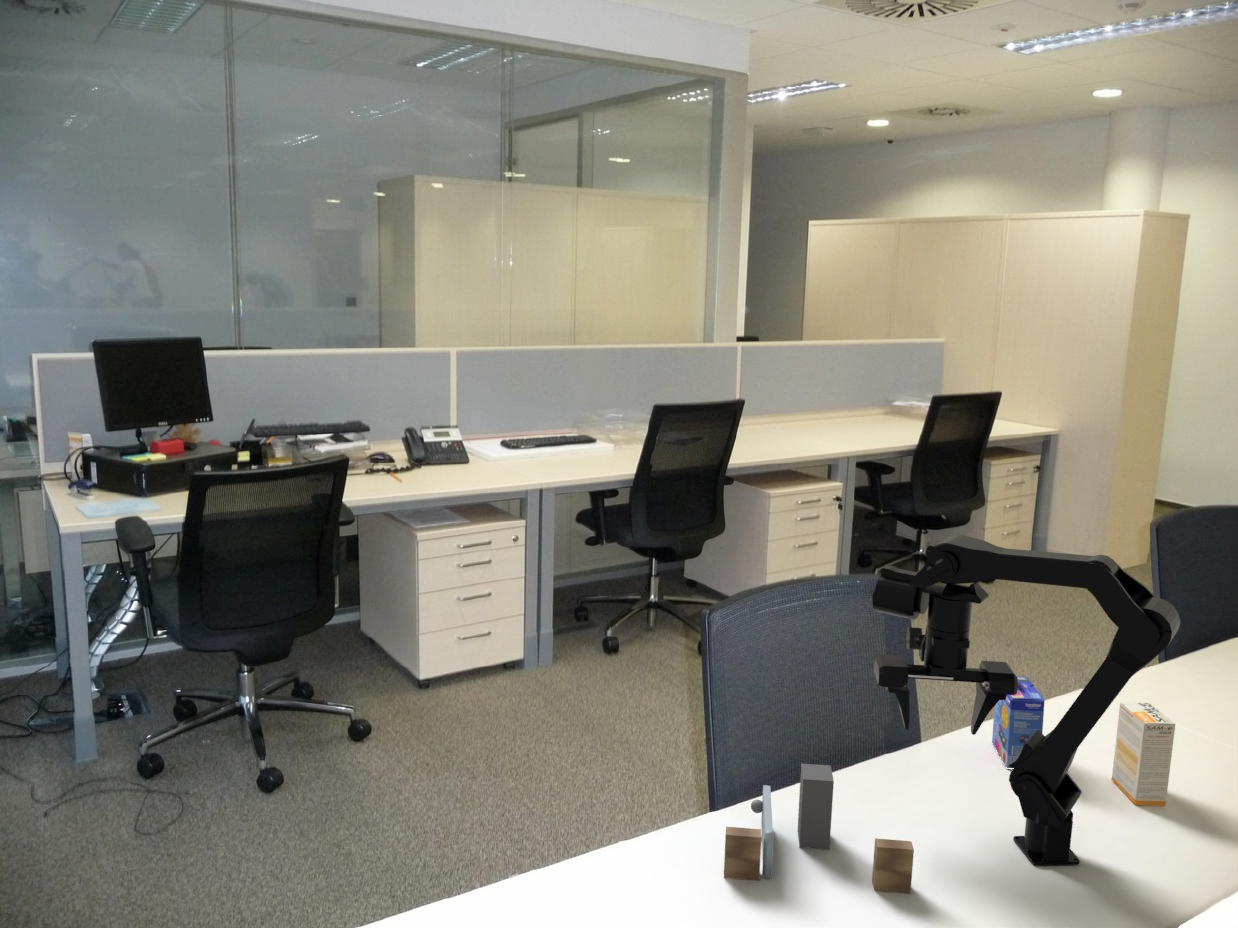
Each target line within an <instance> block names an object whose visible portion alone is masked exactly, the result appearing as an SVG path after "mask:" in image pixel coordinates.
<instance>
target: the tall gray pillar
mask: <svg viewBox="0 0 1238 928" xmlns="http://www.w3.org/2000/svg"><path fill="white" fill-rule="evenodd" d="M833 775H834V774H833V771H832V766H831V765H825V764H813V763H812V764H810V763H800V778H799V783H800V784H799V799H798V801H799V802H798V817H797V838H798V845H799V848H800V849H801V848H802V849H814V850H825V851H826V850H827V851H829V850H830V847H831V830H832V814H833V812H832V811H833V801H834V800H833V797H834V782H835V781H834V780H835V779H834V777H833Z"/></svg>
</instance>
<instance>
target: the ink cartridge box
mask: <svg viewBox="0 0 1238 928" xmlns="http://www.w3.org/2000/svg"><path fill="white" fill-rule="evenodd" d="M1016 676H1017V675H1016ZM1017 679H1018V688H1017V694H1015V695H1007V698H1006V700H999V701H998V703H997V704H996V705H995V706H994V707H993V709H994V710H993V720H992V721H993V723H992V724H993V725H992V739H991V744H992V743H993V744H992V745H994V746H993V747H995V748H996V749H995V748H994V749H995V751H996V750H997V751H996V753H997V752H998V753H997V755H998V754H999V755H1000V757H1001V759H1000V760H1002V761H1003V763H1004V764H1003V763H1002V764H1003V766H1004V765H1005V766H1004V768H1005V767H1007V768H1011V767H1009V764H1010V763H1011V762H1012V761H1013V759H1014V758H1015V757H1016V756H1017V755H1018V753H1019V752H1020V751H1021V750H1022V748H1023V747H1024V745H1025V743H1026V742H1027V741H1028V740H1029V738H1030V737H1031V736H1032V735H1033V733H1034V732H1035V731H1036V730H1037V729H1038V730H1039V731H1040V732H1041V733H1042V734H1043V729H1044V718H1045V717H1044V716H1045V698H1044V697H1043V695H1041V692H1040V691H1038V689H1036V687H1035V686H1034V683H1033V682H1032V681H1031V679H1030V678H1029V677H1027V676H1019V675H1018V676H1017ZM1043 735H1044V734H1043ZM999 755H998V756H999ZM1000 757H999V758H1000ZM1002 761H1001V762H1002Z"/></svg>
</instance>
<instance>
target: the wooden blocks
mask: <svg viewBox="0 0 1238 928" xmlns="http://www.w3.org/2000/svg"><path fill="white" fill-rule="evenodd" d="M761 849H762V828H750V827H748V828H747V827H736V826H726V827H725V841H724V862H723V878H725V879H735V880H746V881H747V880H748V881H758V882H759V881H760V869H761V868H760V867H761V855H762V854H761V851H762V850H761ZM873 850H874V852H873V863H872V874H871V875H872V876H871V883H872V886H873V887H872V888H873V891H875V892H876V891H877V892H887V893H889V892H890V893H899V894H901V893H902V894H911V893H912V891H911V890H912V878H913V876H912V875H913V865H914V864H913V863H914V852H915V849H914V846H913V841H910V840H901V839H900V840H899V839H887V838H878V837H877V838H874V849H873Z"/></svg>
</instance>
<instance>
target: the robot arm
mask: <svg viewBox="0 0 1238 928" xmlns="http://www.w3.org/2000/svg"><path fill="white" fill-rule="evenodd" d="M994 580H998V581H999V580H1000V581H1010V582H1021V583H1029V584H1038V585H1047V586H1048V585H1049V586H1058V587H1066V588H1067V587H1069V588H1076V589H1077V588H1078V589H1085V590H1087V591H1088V592H1089V593H1090V594H1091V595H1092V596H1094V598H1095V600H1096V601H1097V603H1098V604H1099V605H1100V607H1101V609H1102V610H1103V611H1104V613H1105V614H1106V616H1107V618H1108V619H1109V620H1110V621H1111V622H1112V623H1113V624H1114V626H1116V627H1117V631H1116V632H1115V635H1114V637H1113V639H1112V642H1111V644H1110V647H1109V650H1108V652H1107V654H1106V656H1105V659H1104V660H1103V662H1102V663H1101V665H1100V666H1099V668H1097V670H1096V672H1095V673H1094V674H1093V675H1092V677H1091V678H1090V679H1089V681H1088V682H1087V684H1086V685H1085V686H1084V688H1083V689H1082V690H1081V692H1080V693H1079V695H1078V696H1077V698H1076V699H1075V700H1074V701H1073V703H1072V704H1071V705H1070V707H1069V708H1068V709H1067V711H1066V712H1065V713H1064V714H1063V716H1062V717H1061V719H1060V720H1059V722H1058V723H1057V725H1056V726H1055V727H1054V728H1053V729H1052V730H1051V731H1050V732H1049V733H1047V734H1046V735H1044V734H1042V733H1041V732H1040V731H1039V730H1038V729H1037V730H1036V731H1035V732H1034V733H1033V735H1032V736H1031V737H1030V738H1029V740H1028V741H1027V742H1026V743H1025V745H1024V747H1023V748H1022V750H1021V751H1020V752H1019V753H1018V755H1017V756H1016V757H1015V758H1014V759H1013V761H1012V762H1011V763H1010V764H1009V767H1011V768H1014V769H1013V770H1011V771H1010V774H1009V775H1008V776H1009V777H1008V781H1009V784H1010V787H1011V788H1010V789H1011V790H1012V791H1013V793H1014V794H1015V796H1016V797H1017V798H1018V800H1019V804H1020V807H1021V811H1022V814H1023V817H1024V818H1025V828H1024V835H1014V836H1013V838H1012V839H1013V842H1014V843H1015V844H1016V845H1017V847H1018V848H1019V850H1021V852H1022V853H1023V854H1024V855H1025V857H1026V858H1027V859H1028V860H1029V862H1030V863H1031V864H1032V865H1034V866H1059V865H1060V866H1061V865H1067V866H1068V865H1070V866H1072V865H1080V862H1081V860H1080V858H1079V857H1078V856H1077V855H1076V854H1075V853H1074V851H1073V850H1071V844H1072V843H1071V841H1072V833H1073V823H1074V821H1073V818H1074V813H1073V811H1072V810H1073V807H1075V805H1076V803H1077V801H1078V800H1079V798H1081V795H1082V793H1083V791H1082V789H1081V788H1080V787H1079V786H1078V785H1077V783H1076V782H1075V781H1074V780H1073V778H1072V777H1071V776H1070V774H1069V769H1070V767H1071V765H1072V763H1073V760H1074V758H1075V756H1076V753H1077V751H1078V748H1079V747H1080V745H1081V744H1082V743H1083V742H1084V740H1085V739H1086V738H1087V736H1088V735H1089V734H1090V732H1091V731H1092V729H1093V728H1094V727H1095V726H1096V724H1097V723H1098V722H1099V720H1100V719H1101V718H1102V716H1103V715H1104V714H1105V712H1106V711H1107V709H1109V708H1110V706H1111V704H1112V703H1113V702H1114V700H1115V699H1116V698H1117V696H1118V695H1120V693H1121V691H1122V690H1123V688H1125V686H1126V684H1127V683H1128V682H1129V681H1130V679H1131V678H1132V677H1133V676H1134V675H1136V674H1137V673H1138V672H1140V670H1142V669H1143V668H1145V667H1146V666H1148V665H1149V664H1150V662H1152V661H1153V660H1154V659H1155V658H1156V657H1158V656H1159V655H1160V654H1161V653H1162V652H1164V651H1165V650H1166V649H1167V648H1168V646H1169V645H1170V643H1171V642H1172V640H1173V639H1174V637H1175V636H1176V634H1177V632H1178V631H1179V629H1180V626H1181V620H1180V619H1181V618H1180V615H1179V611H1178V610H1177V609H1176V608H1175V606H1174V605H1173V604H1171V602H1169V601H1168V600H1165V599H1163V598H1161V597H1157V596H1156V595H1155V594H1154V593H1153V592H1152V591H1151V590H1150V589H1149V588H1148V587H1147V586H1146V585H1145V584H1143V583H1142V582H1140V581H1139V580H1138V579H1136V578H1135V577H1134V576H1132V575H1131V574H1129V573H1128V572H1127V571H1125V570H1124V569H1123V568H1122V567H1121V566H1120V564H1118V563H1117V562H1116V561H1115V560H1114V558H1112V557H1111V556H1108V555H1104V554H1096V555H1088V554H1075V553H1063V552H1053V551H1052V552H1051V551H1041V550H1040V551H1039V550H1031V549H1030V550H1028V549H1027V550H1026V549H1016V548H1005V547H1003V546H1002V547H1001V546H999V545H995V544H993V543H991V542H988V541H986V540H983V539H979V538H975V537H971V536H967V535H962V534H957V535H952V536H950V537H948V538H946V539H945V540H943V541H941V542H938V543H937V544H935V545H934V546H932V548H931V549H930V550H929V553H928V554H927V557H926V564H925V565H924V566H923V567H922V568H921V569H920V570H918V571H912V570H908V569H901V568H899V567H897V566H895V565H894V566H893V565H889V564H887V565H886V566H885V565H884V566H883V567H882V568H881V569H880V575H879V577H878V579H877V581H876V583H875V587H874V591H873V592H872V600H871V602H872V607H873V610H874V611H875V612H878V613H882V614H887V615H890V616H891V615H892V616H895V617H901V618H905V619H909V620H916V619H917V618H919V616H920V615H924V614H925V613H926V612H927V621H926V628H925V634H923V629H922V628H921V627H910V626H909V627H907V628H906V638H905V639H906V640H905V641H906V643H905V644H906V646H905V647H906V649H907V650H918V656H919V659H920V661H921V662H923V664H910V663H909V664H908V663H907V662H906V659H905V657H904V655H896V654H895V655H891V654H878V655H877V656H876V657H875V658H874V662H873V663H874V664H873V673H874V677H875V679H876V682H877V686H880V687H883V688H886V691H887V692H888V693H891V694H894V695H895V697H896V700H897V703H898V706H899V711H900V715H901V719H902V722H903V726H904V730H905V731H909V727H910V722H911V721H910V720H911V718H910V712H911V711H910V706H911V705H910V690H909V687H908V686H909V685H907V684H908V683H909V679H914V680H930V681H931V680H932V681H946V682H947V681H948V682H949V681H950V682H959V683H960V682H962V683H963V682H964V683H975V686H976V687H975V689H976V690H975V691H976V692H975V699H974V704H973V710H972V715H971V720H970V732H971V735H973V736H974V735H976V734H977V732H978V731H979V730H980V727H981V726H982V725H983V723H984V721H985V720H986V718H987V716H988V715H989V714H990V712H991V711H992V710H993V709H994V708H995V705H996V704H997V703H998V701H999V700H1006V698H1007V695H1015V694H1017V688H1018V679H1017V674H1016V672H1014V671H1013V669H1012V667H1011V666H1010V665H1009V664H1008V663H1007V662H1006V661H995V660H994V661H992V660H981V661H980V663H979V668H977V667H976V668H973V667H967V666H968V665H967V663H968V652H969V649H970V644H971V641H970V631H971V618H972V605H973V603H974V604H976V605H977V604H979V605H980V604H981V603H983V602H984V601H985V600H987V599H988V598H989V596H990V595H989V593H988V592H987V591H986V590H985V589H984V588H983V587H982V586H981V585H980V582H984V581H985V582H986V581H994ZM937 583H940V584H945V585H938V584H937ZM966 584H970V585H966Z"/></svg>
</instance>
